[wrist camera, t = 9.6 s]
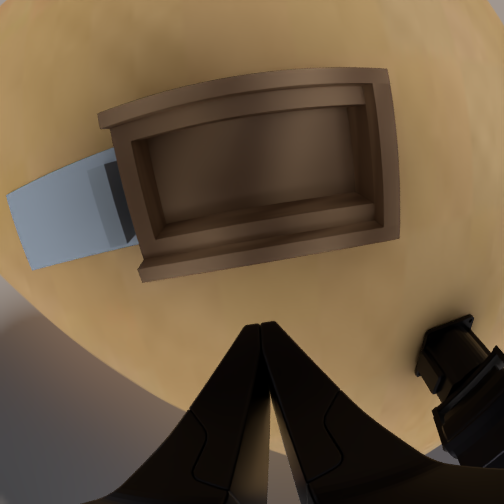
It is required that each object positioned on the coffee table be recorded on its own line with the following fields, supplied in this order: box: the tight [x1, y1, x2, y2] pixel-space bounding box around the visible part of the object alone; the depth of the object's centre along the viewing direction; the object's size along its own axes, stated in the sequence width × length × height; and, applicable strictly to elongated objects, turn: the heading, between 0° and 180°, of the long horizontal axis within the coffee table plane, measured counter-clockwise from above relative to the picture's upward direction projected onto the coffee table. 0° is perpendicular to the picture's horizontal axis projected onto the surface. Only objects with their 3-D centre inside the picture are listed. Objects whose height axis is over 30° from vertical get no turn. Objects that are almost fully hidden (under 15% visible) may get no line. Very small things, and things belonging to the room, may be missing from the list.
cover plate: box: [6, 147, 139, 270], centre depth 17 cm, size 12×7×3 cm, turn 100°
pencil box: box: [97, 67, 400, 283], centre depth 15 cm, size 14×9×5 cm, turn 99°
